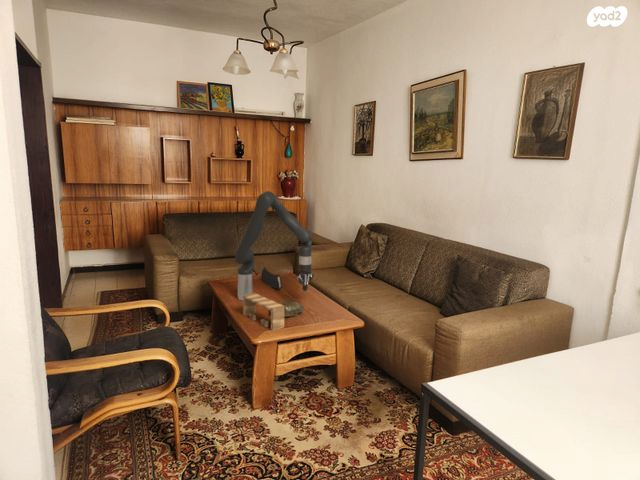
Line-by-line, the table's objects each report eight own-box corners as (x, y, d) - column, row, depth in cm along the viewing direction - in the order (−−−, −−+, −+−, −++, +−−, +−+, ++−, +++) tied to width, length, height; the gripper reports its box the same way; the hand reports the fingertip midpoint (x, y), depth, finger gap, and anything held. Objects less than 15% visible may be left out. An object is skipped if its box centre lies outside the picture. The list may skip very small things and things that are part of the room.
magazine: (259, 268, 308) (275, 265, 282) (263, 267, 309) (280, 265, 284) (262, 290, 307) (278, 290, 281) (266, 290, 308) (283, 289, 282)
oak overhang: (243, 315, 238) (242, 295, 236) (253, 312, 243) (253, 292, 241) (273, 330, 217) (273, 309, 215) (284, 327, 222) (284, 306, 220)
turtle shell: (265, 302, 244) (296, 293, 251) (268, 316, 246) (299, 306, 253) (272, 311, 229) (305, 301, 236) (275, 325, 232) (308, 315, 238)
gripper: (309, 260, 253) (309, 287, 256) (292, 263, 244) (292, 291, 247) (317, 262, 247) (317, 289, 251) (301, 265, 239) (300, 294, 242)
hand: (305, 290), depth 249 cm, fingers closed
